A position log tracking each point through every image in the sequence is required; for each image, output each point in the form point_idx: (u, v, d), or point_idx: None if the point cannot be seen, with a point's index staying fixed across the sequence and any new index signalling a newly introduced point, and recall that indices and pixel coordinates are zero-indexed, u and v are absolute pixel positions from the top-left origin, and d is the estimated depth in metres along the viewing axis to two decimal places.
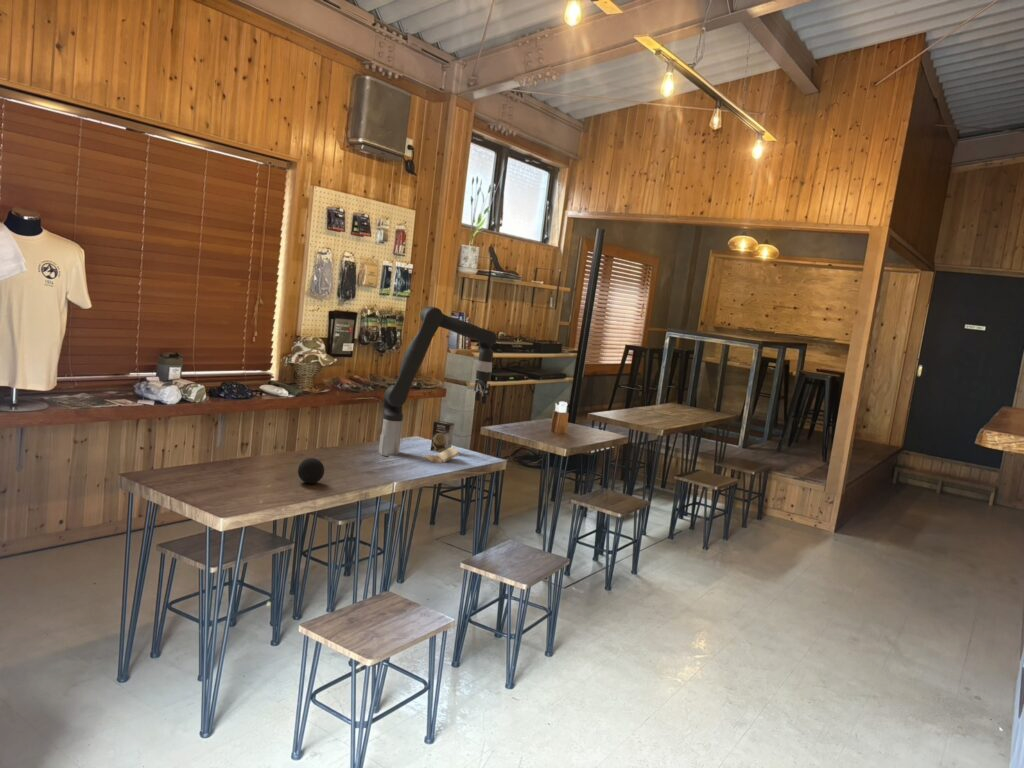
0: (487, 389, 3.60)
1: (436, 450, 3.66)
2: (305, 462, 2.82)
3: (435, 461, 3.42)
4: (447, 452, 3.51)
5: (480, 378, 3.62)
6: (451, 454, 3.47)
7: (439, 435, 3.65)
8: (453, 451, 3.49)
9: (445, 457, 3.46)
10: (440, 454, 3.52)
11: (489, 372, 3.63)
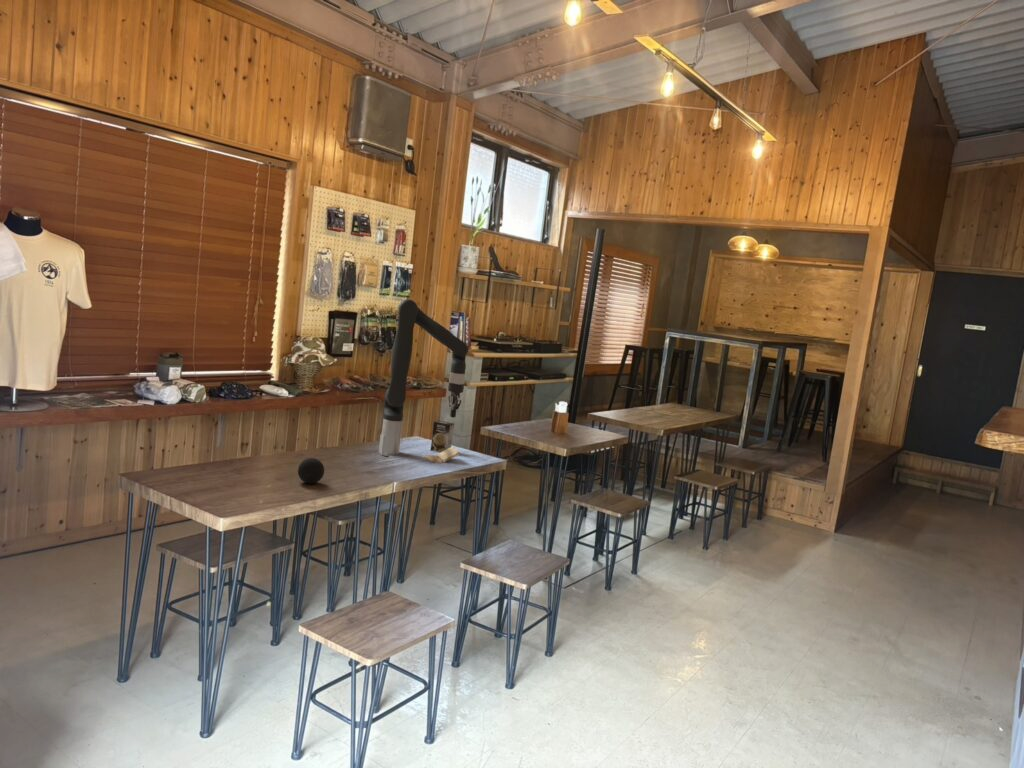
0: (457, 405, 3.51)
1: (436, 450, 3.66)
2: (305, 462, 2.82)
3: (435, 461, 3.42)
4: (447, 452, 3.51)
5: (452, 390, 3.51)
6: (451, 454, 3.47)
7: (439, 435, 3.65)
8: (453, 451, 3.49)
9: (445, 457, 3.46)
10: (440, 454, 3.52)
11: (462, 384, 3.51)
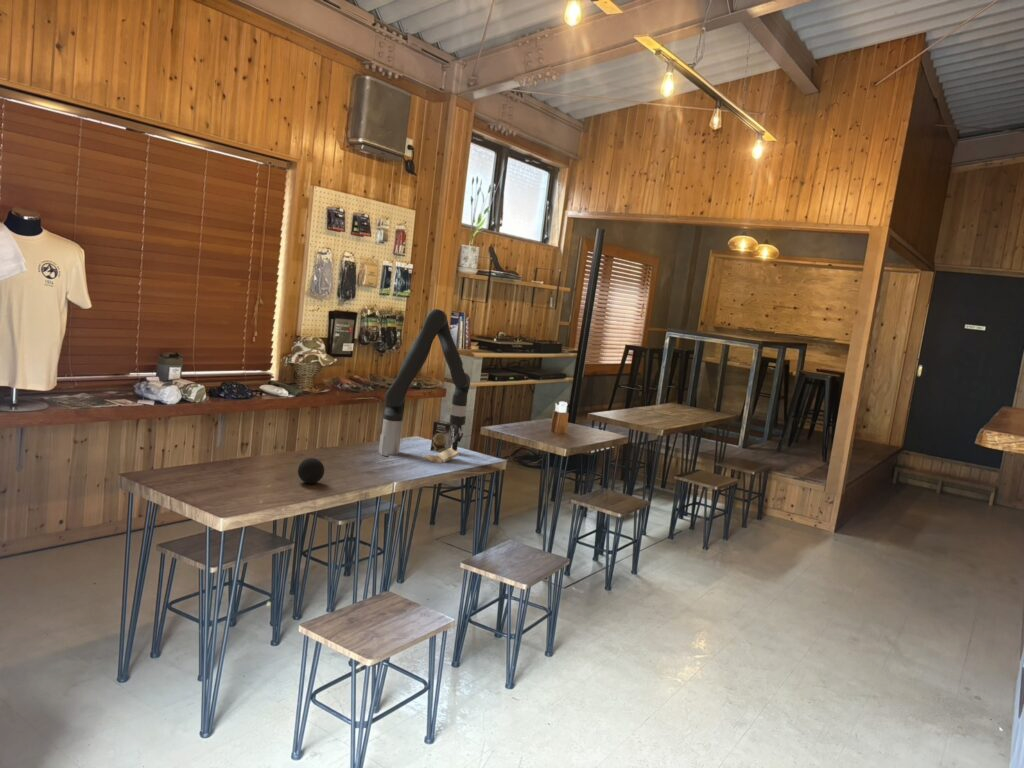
0: (459, 438, 3.46)
1: (436, 450, 3.66)
2: (305, 462, 2.82)
3: (435, 461, 3.42)
4: (447, 452, 3.51)
5: (454, 423, 3.46)
6: (451, 454, 3.47)
7: (439, 435, 3.65)
8: (454, 451, 3.49)
9: (445, 457, 3.46)
10: (440, 454, 3.52)
11: (463, 416, 3.47)
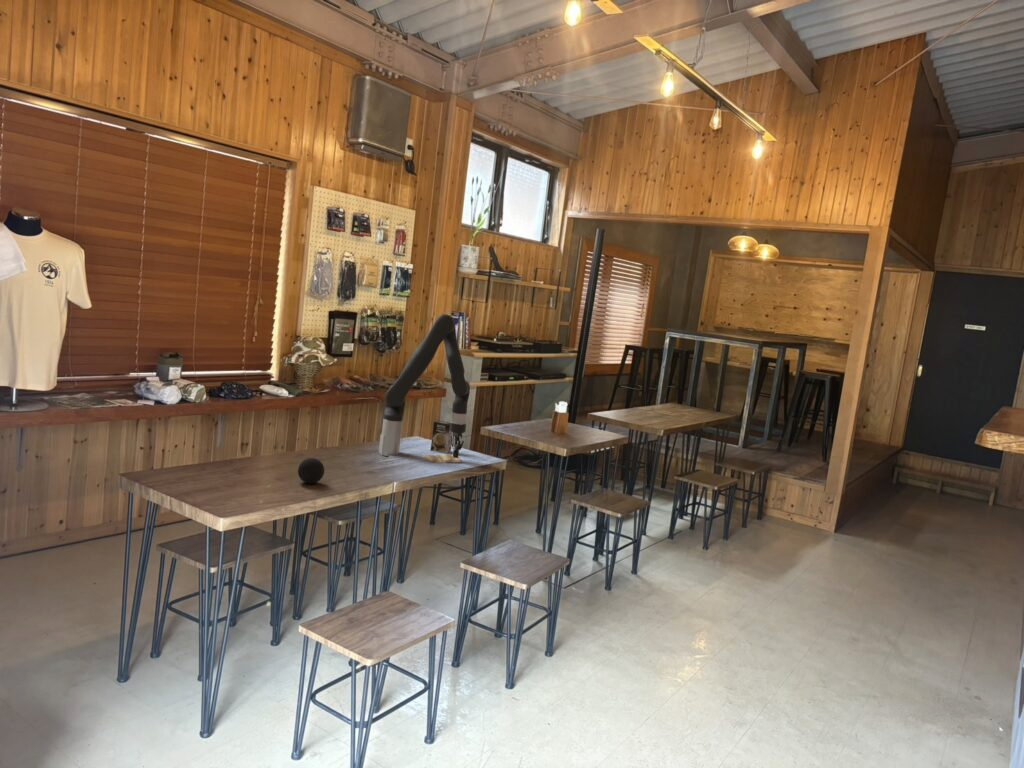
0: (460, 446, 3.47)
1: (436, 450, 3.66)
2: (305, 462, 2.82)
3: (435, 461, 3.42)
4: (449, 456, 3.52)
5: (454, 431, 3.46)
6: (453, 458, 3.48)
7: (439, 435, 3.65)
8: (456, 458, 3.50)
9: (446, 459, 3.46)
10: (441, 455, 3.52)
11: (464, 424, 3.47)
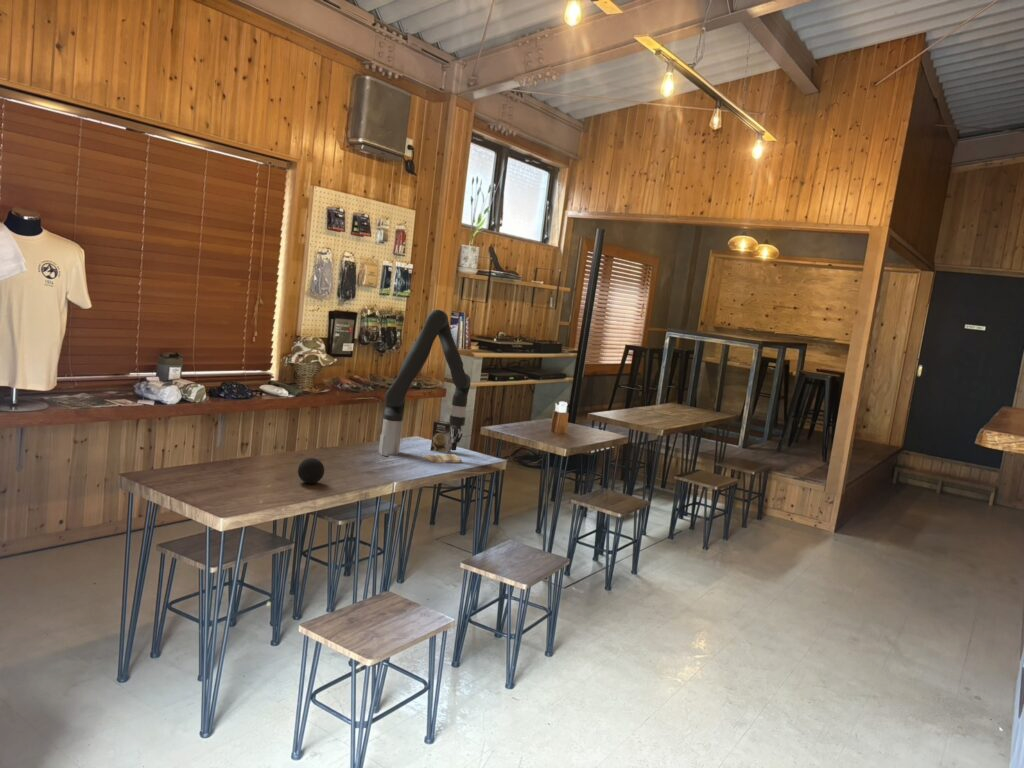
0: (458, 438, 3.46)
1: (436, 450, 3.66)
2: (305, 462, 2.82)
3: (435, 461, 3.42)
4: (449, 456, 3.52)
5: (453, 423, 3.46)
6: (453, 458, 3.48)
7: (439, 435, 3.65)
8: (456, 458, 3.50)
9: (446, 459, 3.46)
10: (441, 455, 3.52)
11: (463, 417, 3.47)
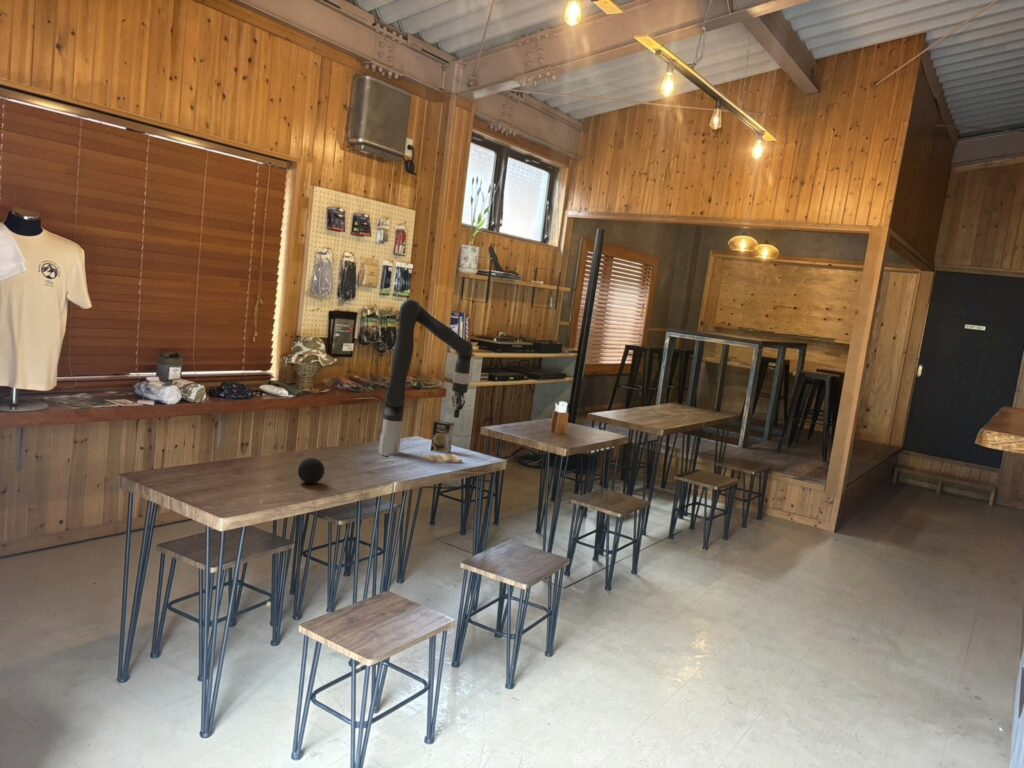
0: (461, 405, 3.45)
1: (436, 450, 3.66)
2: (305, 462, 2.82)
3: (435, 461, 3.42)
4: (449, 456, 3.52)
5: (456, 390, 3.45)
6: (453, 458, 3.48)
7: (439, 435, 3.65)
8: (456, 458, 3.50)
9: (446, 459, 3.46)
10: (441, 455, 3.52)
11: (466, 384, 3.46)
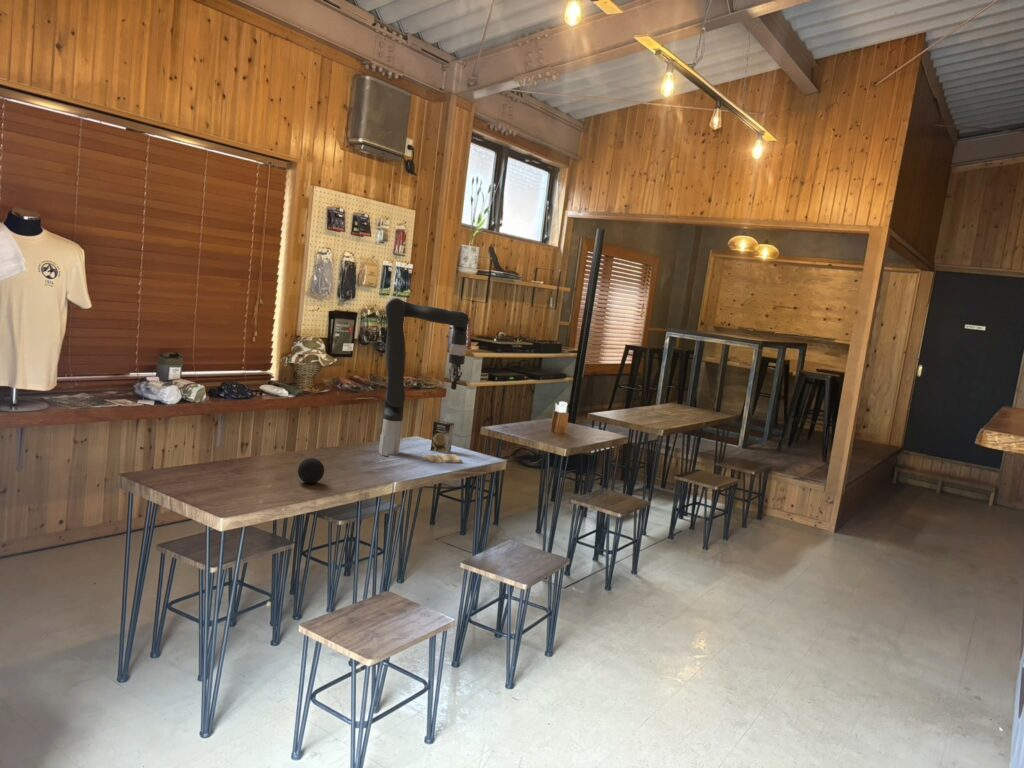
0: (458, 377, 3.47)
1: (436, 450, 3.66)
2: (305, 462, 2.82)
3: (435, 461, 3.42)
4: (449, 456, 3.52)
5: (453, 362, 3.47)
6: (453, 458, 3.48)
7: (439, 435, 3.65)
8: (456, 458, 3.50)
9: (446, 459, 3.46)
10: (441, 455, 3.52)
11: (462, 355, 3.47)
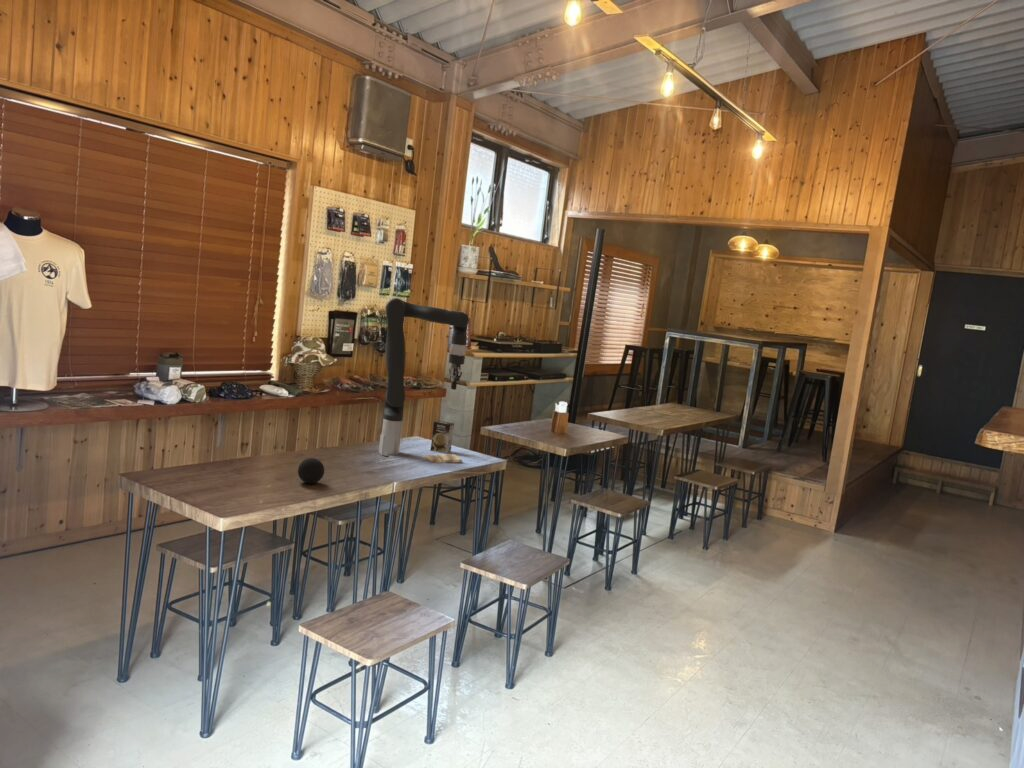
0: (458, 377, 3.47)
1: (436, 450, 3.66)
2: (305, 462, 2.82)
3: (435, 461, 3.42)
4: (449, 456, 3.52)
5: (453, 362, 3.47)
6: (453, 458, 3.48)
7: (439, 435, 3.65)
8: (456, 458, 3.50)
9: (446, 459, 3.46)
10: (441, 455, 3.52)
11: (462, 355, 3.47)
